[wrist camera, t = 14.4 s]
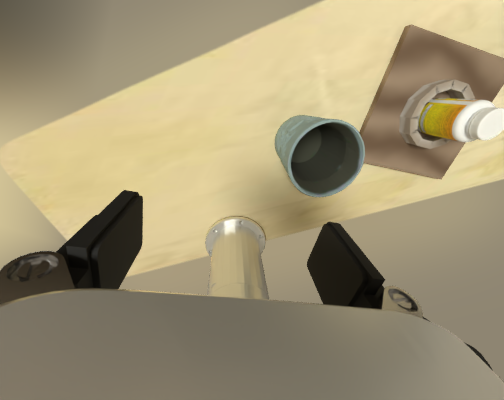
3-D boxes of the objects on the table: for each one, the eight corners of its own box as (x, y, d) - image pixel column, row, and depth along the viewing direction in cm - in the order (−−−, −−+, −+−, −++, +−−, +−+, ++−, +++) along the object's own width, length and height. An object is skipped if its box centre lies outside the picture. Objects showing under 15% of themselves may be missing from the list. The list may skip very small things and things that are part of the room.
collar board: (436, 177, 44) (452, 184, 41) (348, 158, 40) (358, 164, 37) (508, 64, 35) (537, 61, 32) (405, 26, 32) (425, 19, 28)
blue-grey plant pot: (277, 106, 35) (297, 114, 24) (335, 114, 36) (379, 125, 26) (267, 166, 40) (280, 195, 29) (319, 171, 41) (350, 200, 30)
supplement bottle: (413, 138, 38) (470, 153, 29) (410, 107, 36) (472, 113, 27) (444, 123, 38) (513, 135, 29) (444, 91, 35) (519, 92, 26)
